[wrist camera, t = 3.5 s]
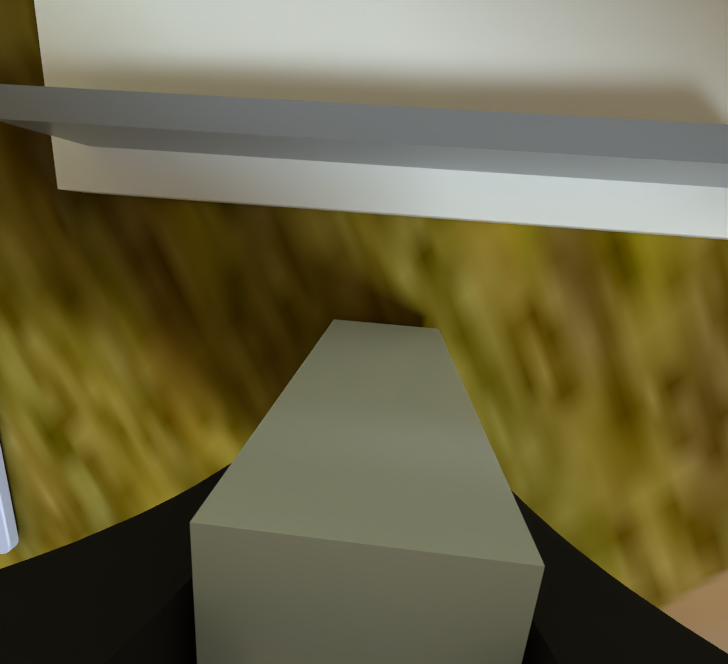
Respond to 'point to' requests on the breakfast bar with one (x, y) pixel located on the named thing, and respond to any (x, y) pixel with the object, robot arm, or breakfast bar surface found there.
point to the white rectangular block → (365, 520)
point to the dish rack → (395, 107)
